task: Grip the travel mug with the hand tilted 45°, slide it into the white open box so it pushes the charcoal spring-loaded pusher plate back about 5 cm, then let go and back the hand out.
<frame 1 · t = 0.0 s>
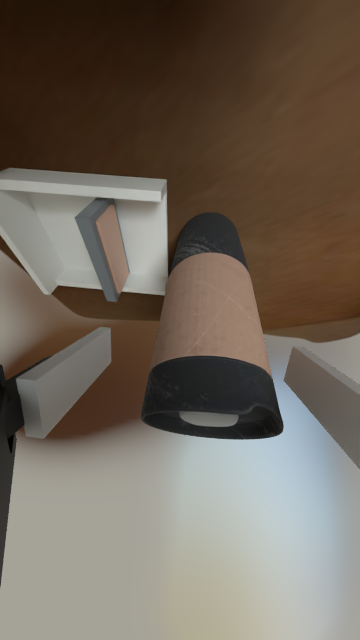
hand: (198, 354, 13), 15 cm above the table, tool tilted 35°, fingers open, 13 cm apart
pusher: (111, 252, 20), point 4 cm above the table, slide at 0.0 cm
travel mug: (207, 242, 23), on the table
white open box: (104, 234, 23), on the table
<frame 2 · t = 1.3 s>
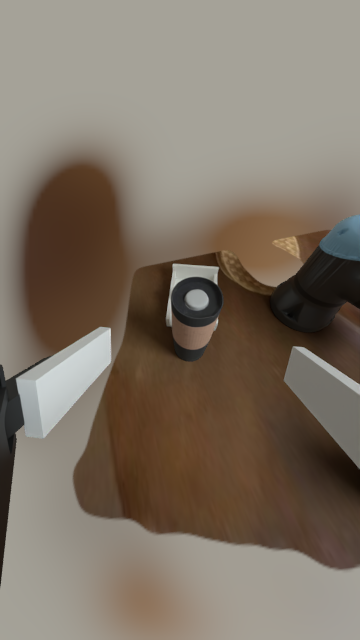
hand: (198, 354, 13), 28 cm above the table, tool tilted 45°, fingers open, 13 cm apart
travel mug: (189, 347, 43), on the table
white open box: (192, 302, 49), on the table
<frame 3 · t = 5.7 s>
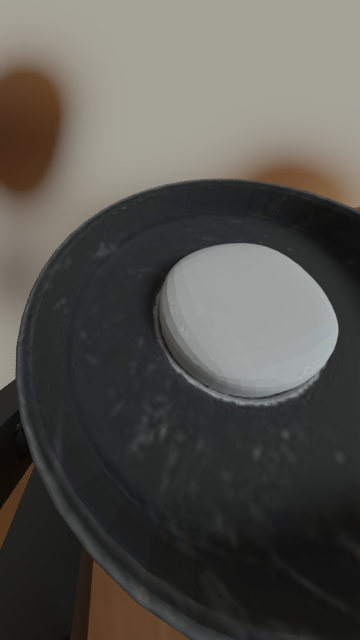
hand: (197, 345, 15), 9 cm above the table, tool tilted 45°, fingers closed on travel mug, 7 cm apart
travel mug: (187, 402, 21), on the table, touching gripper
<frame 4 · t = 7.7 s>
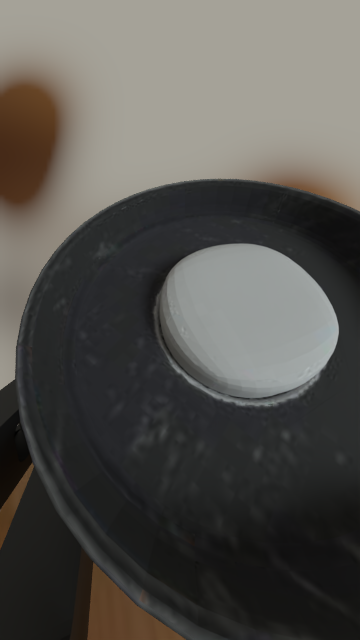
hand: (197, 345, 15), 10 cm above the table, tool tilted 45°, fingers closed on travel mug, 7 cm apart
travel mug: (187, 403, 21), point 1 cm above the table, touching gripper
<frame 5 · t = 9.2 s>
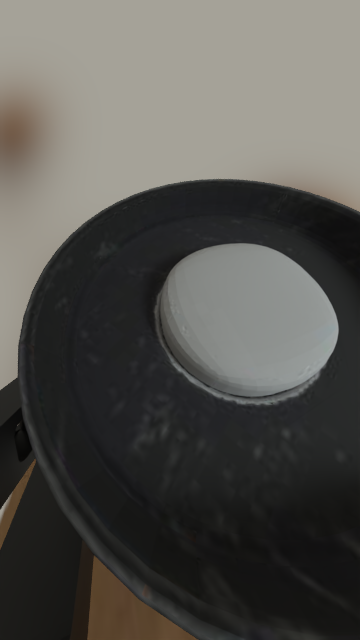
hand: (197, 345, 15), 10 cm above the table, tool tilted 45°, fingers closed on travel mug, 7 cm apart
travel mug: (187, 403, 21), point 1 cm above the table, touching gripper, pusher
when the fingers open (10 cm above the table, at t = 9.6 s): travel mug stays where it is, resting on white open box, pusher.
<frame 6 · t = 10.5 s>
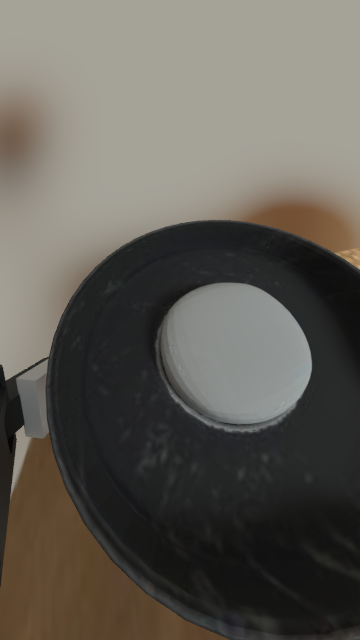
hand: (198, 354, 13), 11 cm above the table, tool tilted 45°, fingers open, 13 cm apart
travel mug: (186, 407, 21), resting on white open box, pusher
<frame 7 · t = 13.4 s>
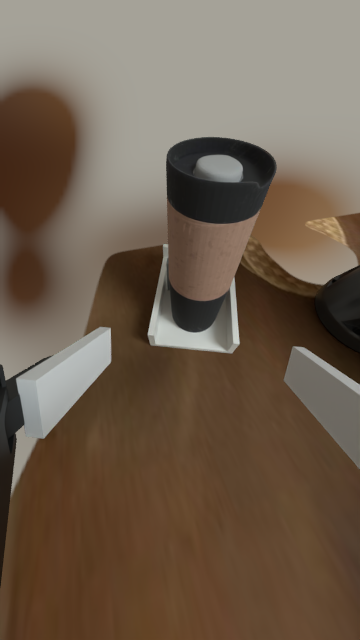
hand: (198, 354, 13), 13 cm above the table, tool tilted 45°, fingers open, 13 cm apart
pusher: (197, 278, 29), point 4 cm above the table, slide at 4.7 cm, touching travel mug
travel mug: (193, 314, 30), resting on white open box, pusher
white open box: (194, 305, 31), on the table
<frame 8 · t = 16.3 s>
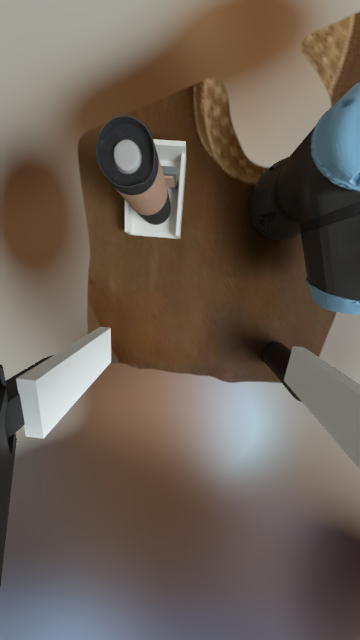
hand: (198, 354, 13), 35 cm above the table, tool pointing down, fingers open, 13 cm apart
pusher: (153, 177, 37), point 4 cm above the table, slide at 4.7 cm, touching travel mug
travel mug: (155, 208, 42), resting on white open box, pusher
bottle: (274, 353, 50), on the table
white open box: (156, 199, 41), on the table
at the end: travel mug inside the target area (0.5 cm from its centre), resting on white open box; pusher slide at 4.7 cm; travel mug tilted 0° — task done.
